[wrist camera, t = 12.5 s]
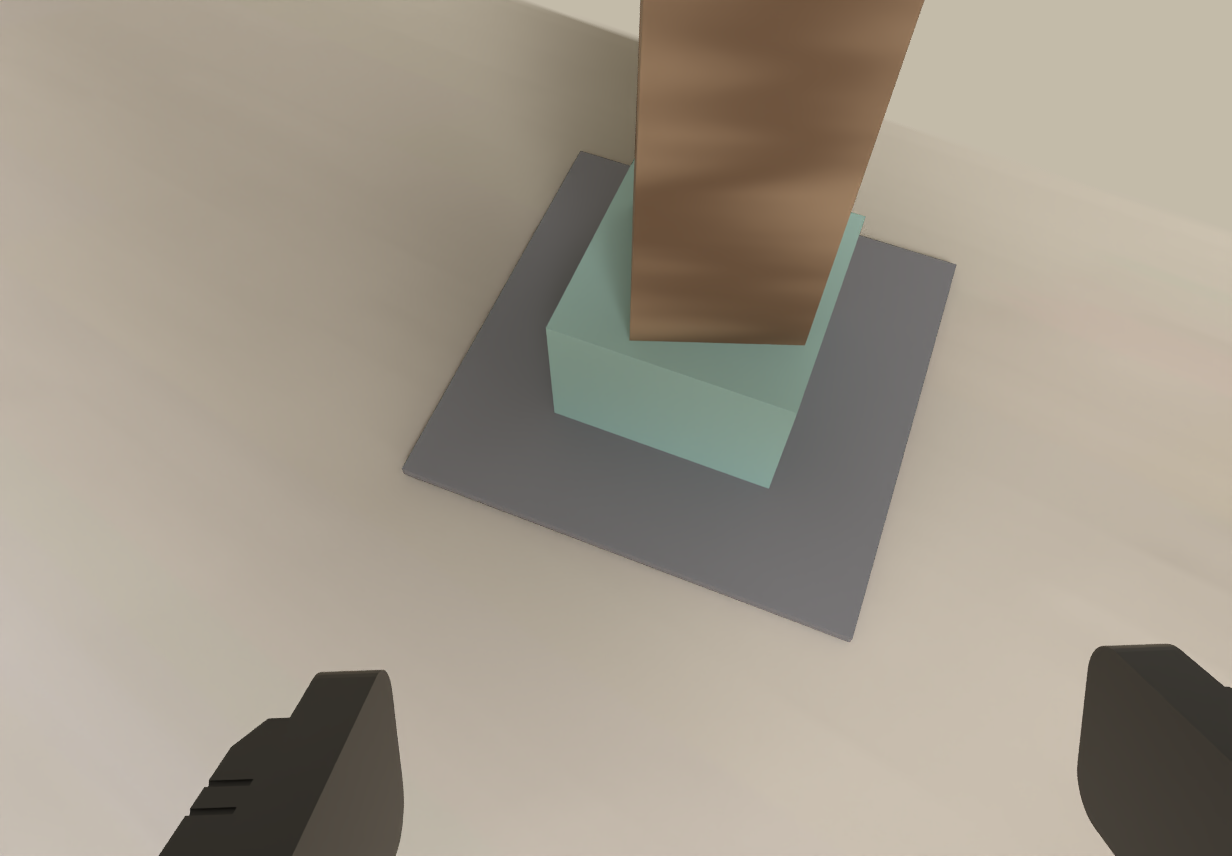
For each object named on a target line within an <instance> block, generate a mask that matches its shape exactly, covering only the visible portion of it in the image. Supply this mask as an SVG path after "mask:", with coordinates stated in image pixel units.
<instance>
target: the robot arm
mask: <svg viewBox="0 0 1232 856" xmlns="http://www.w3.org/2000/svg"><path fill="white" fill-rule="evenodd" d="M1077 777H1078V785H1079V790H1080V795H1081V799H1082V802H1083V805H1084V808H1085V810H1086V813H1087V815H1088V817H1089V819H1090V821H1091V823H1092V824H1093V826H1094V827H1095V829H1096V830H1097V832H1098V833H1099V834H1100V836H1101V837H1102V838H1103V840H1104V841H1105V843H1106V844H1107V845H1108V847H1109V848H1110V849H1111V851H1112V852H1113V853H1114V855H1115V856H1232V688H1230V687H1224V686H1223V685H1222V684H1221V683H1219V682H1218V681H1217V680H1216V679H1215V678H1214V677H1212V676H1211V675H1210V674H1209V673H1208V672H1206V671H1205V670H1204V669H1203V668H1202V667H1200V666H1199V665H1198V664H1197V663H1196V662H1194V661H1193V660H1192V659H1191V658H1190V657H1189V656H1187V655H1186V654H1185V653H1184V652H1183V651H1181V650H1180V649H1179V648H1177V647H1176V646H1174V645H1171V644H1146V645H1118V646H1101V647H1098V648H1097V649H1096V650H1095V651H1094V652H1093V654H1092V656H1091V658H1090V661H1089V666H1088V672H1087V682H1086V691H1085V700H1084V709H1083V718H1082V727H1081V736H1080V745H1079V754H1078V765H1077ZM403 810H404V792H403V781H402V772H401V764H400V755H399V746H398V738H397V729H396V720H395V712H394V703H393V695H392V687H391V682H390V679H389V676H388V674H387V672H386V671H385V670H366V671H338V672H320V673H318V674H316V675H315V677H314V678H313V680H312V681H311V683H310V685H309V687H308V688H307V690H306V692H305V693H304V695H303V697H302V698H301V700H300V702H299V703H298V705H297V707H296V708H295V710H294V712H293V713H292V715H291V717H290V718H271V719H267V720H266V721H265V722H263V723H262V724H261V725H259V726H258V727H257V728H255V729H254V730H253V731H252V732H250V733H249V734H248V735H246V736H245V737H244V738H242V739H241V740H240V741H239V742H237V743H236V744H235V745H233V746H232V747H231V748H230V750H229V751H228V753H227V754H226V756H225V757H224V759H223V760H222V762H221V763H220V765H219V766H218V768H217V769H216V771H215V772H214V774H213V775H212V777H211V778H210V780H209V786H208V787H204V789H203V790H202V792H201V793H200V795H199V796H198V798H197V799H196V801H195V802H194V804H193V805H192V807H191V808H190V815H189V816H185V817H184V819H183V820H182V822H181V823H180V825H179V826H178V828H177V829H176V831H175V832H174V834H173V835H172V837H171V838H170V840H169V841H168V843H167V844H166V846H165V847H164V849H163V850H162V852H161V853H160V855H159V856H396V853H397V850H398V846H399V842H400V837H401V831H402V824H403Z"/></svg>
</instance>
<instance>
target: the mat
mask: <svg viewBox="0 0 1232 856" xmlns="http://www.w3.org/2000/svg"><path fill="white" fill-rule="evenodd" d="M629 168H630V166H629V165H626V164H622V163H619V162H616V161H613V160H609V159H606V158H603V157H599V156H596V155H593V154H589V153H586V152H583V151H580V153H579V155H578V156H577V158H576V160H575V162H574V164H573V165H572V167H571V169H570V171H569V172H568V174H567V176H566V178H565V180H564V181H563V183H562V185H561V187H560V188H559V190H558V192H557V194H556V196H555V197H554V199H553V201H552V203H551V204H550V206H549V208H548V210H547V212H546V213H545V215H544V217H543V219H542V220H541V222H540V224H539V226H538V228H537V229H536V231H535V233H534V235H533V236H532V238H531V240H530V242H529V244H528V245H527V247H526V249H525V251H524V252H523V254H522V256H521V258H520V260H519V261H518V263H517V265H516V267H515V268H514V270H513V272H512V274H511V276H510V277H509V279H508V281H507V283H506V284H505V286H504V288H503V290H502V292H501V293H500V295H499V297H498V299H497V300H496V302H495V304H494V306H493V308H492V309H491V311H490V313H489V315H488V317H487V318H486V320H485V322H484V324H483V325H482V327H481V329H480V331H479V333H478V334H477V336H476V338H475V340H474V341H473V343H472V345H471V347H470V349H469V350H468V352H467V354H466V356H465V357H464V359H463V361H462V363H461V365H460V366H459V368H458V370H457V372H456V373H455V375H454V377H453V379H452V381H451V382H450V384H449V386H448V388H447V389H446V391H445V393H444V395H443V397H442V398H441V400H440V402H439V404H438V405H437V407H436V409H435V411H434V413H433V414H432V416H431V418H430V420H429V421H428V423H427V425H426V427H425V429H424V430H423V432H422V434H421V436H420V437H419V439H418V441H417V443H416V445H415V446H414V448H413V450H412V452H411V453H410V455H409V457H408V459H407V461H406V462H405V464H404V466H403V468H402V470H403V472H404V474H407V475H409V476H412V477H415V478H417V479H420V480H423V481H425V482H428V483H430V484H433V485H436V486H438V487H441V488H444V489H446V490H449V491H452V492H454V493H457V494H459V495H462V496H465V497H467V498H470V499H473V500H475V501H478V502H481V503H483V504H486V505H489V506H491V507H494V508H496V509H499V510H502V511H504V512H507V513H510V514H512V515H515V516H518V517H520V518H523V519H525V520H528V521H531V522H533V523H536V524H539V525H541V526H544V527H547V528H549V529H552V530H555V531H557V532H560V533H562V534H565V535H568V536H570V537H573V538H576V539H578V540H581V541H584V542H586V543H589V544H591V545H594V546H597V547H599V548H602V549H605V550H607V551H610V552H613V553H615V554H618V555H621V556H623V557H626V558H628V559H631V560H634V561H636V562H639V563H642V564H644V565H647V566H650V567H652V568H655V569H657V570H660V571H663V572H665V573H668V574H671V575H673V576H676V577H679V578H681V579H684V580H687V581H689V582H692V583H694V584H697V585H700V586H702V587H705V588H708V589H710V590H713V591H716V592H718V593H721V594H724V595H726V596H729V597H731V598H734V599H737V600H739V601H742V602H745V603H747V604H750V605H753V606H755V607H758V608H760V609H763V610H766V611H768V612H771V613H774V614H776V615H779V616H782V617H784V618H787V619H790V620H792V621H795V622H797V623H800V624H803V625H805V626H808V627H811V628H813V629H816V630H819V631H821V632H824V633H826V634H829V635H832V636H834V637H837V638H840V639H842V640H845V641H848V642H850V641H851V640H852V638H853V635H854V631H855V627H856V624H857V620H858V617H859V613H860V609H861V606H862V602H863V599H864V595H865V591H866V588H867V584H868V581H869V577H870V573H871V570H872V566H873V563H874V559H875V555H876V552H877V548H878V545H879V541H880V537H881V534H882V530H883V527H884V523H885V520H886V516H887V512H888V509H889V505H890V502H891V498H892V494H893V491H894V487H895V484H896V480H897V476H898V473H899V469H900V466H901V462H902V458H903V455H904V451H905V448H906V444H907V440H908V437H909V433H910V430H911V426H912V422H913V419H914V415H915V412H916V408H917V404H918V401H919V397H920V394H921V390H922V386H923V383H924V379H925V376H926V372H927V369H928V365H929V361H930V358H931V354H932V351H933V347H934V343H935V340H936V336H937V333H938V329H939V325H940V322H941V318H942V315H943V311H944V307H945V304H946V300H947V297H948V293H949V289H950V286H951V282H952V279H953V275H954V271H955V268H956V264H953V263H949V262H946V261H943V260H939V259H936V258H933V257H930V256H926V255H923V254H920V253H916V252H913V251H910V250H906V249H903V248H900V247H897V246H893V245H890V244H887V243H883V242H880V241H877V240H873V239H870V238H867V237H863V236H860V235H859V237H858V240H857V243H856V246H855V248H854V251H853V254H852V257H851V260H850V263H849V266H848V269H847V271H846V274H845V277H844V280H843V283H842V286H841V289H840V292H839V294H838V297H837V300H836V303H835V306H834V309H833V312H832V315H831V317H830V320H829V323H828V326H827V329H826V332H825V335H824V338H823V340H822V343H821V346H820V349H819V352H818V355H817V358H816V361H815V364H814V366H813V369H812V372H811V375H810V378H809V381H808V384H807V387H806V389H805V392H804V395H803V398H802V401H801V404H800V407H799V410H798V412H797V415H796V418H795V420H794V423H793V426H792V428H791V431H790V434H789V436H788V439H787V442H786V444H785V447H784V450H783V452H782V455H781V458H780V460H779V463H778V466H777V468H776V471H775V473H774V476H773V479H772V481H771V484H770V487H769V489H768V488H765V487H762V486H760V485H757V484H754V483H751V482H748V481H746V480H743V479H740V478H737V477H734V476H732V475H729V474H726V473H723V472H720V471H717V470H715V469H712V468H709V467H706V466H703V465H701V464H698V463H695V462H692V461H689V460H687V459H684V458H681V457H678V456H675V455H673V454H670V453H667V452H664V451H661V450H658V449H656V448H653V447H650V446H647V445H644V444H642V443H639V442H636V441H633V440H630V439H628V438H625V437H622V436H619V435H616V434H613V433H611V432H608V431H605V430H602V429H599V428H597V427H594V426H591V425H588V424H585V423H583V422H580V421H577V420H574V419H571V418H568V417H566V416H563V415H560V414H557V413H554V403H553V393H552V383H551V374H550V364H549V354H548V344H547V334H546V327H547V325H548V323H549V321H550V319H551V317H552V315H553V313H554V311H555V309H556V308H557V306H558V304H559V302H560V300H561V298H562V296H563V294H564V292H565V290H566V288H567V286H568V285H569V283H570V281H571V279H572V277H573V275H574V273H575V271H576V269H577V267H578V265H579V264H580V262H581V260H582V258H583V256H584V254H585V252H586V250H587V248H588V246H589V244H590V242H591V241H592V239H593V237H594V235H595V233H596V231H597V229H598V227H599V225H600V223H601V221H602V219H603V218H604V216H605V214H606V212H607V210H608V208H609V206H610V204H611V202H612V200H613V198H614V196H615V195H616V193H617V191H618V189H619V187H620V185H621V183H622V181H623V179H624V177H625V175H626V173H627V172H628V170H629Z"/></svg>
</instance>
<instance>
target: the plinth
mask: <svg viewBox="0 0 1232 856" xmlns="http://www.w3.org/2000/svg"><path fill="white" fill-rule="evenodd" d="M634 160H635V158H634ZM634 160H633V162H632V164H631V166H630V168H629V170H628V172H627V173H626V175H625V177H624V179H623V181H622V183H621V185H620V187H619V189H618V191H617V193H616V195H615V196H614V198H613V200H612V202H611V204H610V206H609V208H608V210H607V212H606V214H605V216H604V218H603V219H602V221H601V223H600V225H599V227H598V229H597V231H596V233H595V235H594V237H593V239H592V241H591V242H590V244H589V246H588V248H587V250H586V252H585V254H584V256H583V258H582V260H581V262H580V264H579V265H578V267H577V269H576V271H575V273H574V275H573V277H572V279H571V281H570V283H569V285H568V286H567V288H566V290H565V292H564V294H563V296H562V298H561V300H560V302H559V304H558V306H557V308H556V309H555V311H554V313H553V315H552V317H551V319H550V321H549V323H548V325H547V327H546V334H547V344H548V354H549V364H550V374H551V383H552V393H553V403H554V413H557V414H560V415H563V416H566V417H568V418H571V419H574V420H577V421H580V422H583V423H585V424H588V425H591V426H594V427H597V428H599V429H602V430H605V431H608V432H611V433H613V434H616V435H619V436H622V437H625V438H628V439H630V440H633V441H636V442H639V443H642V444H644V445H647V446H650V447H653V448H656V449H658V450H661V451H664V452H667V453H670V454H673V455H675V456H678V457H681V458H684V459H687V460H689V461H692V462H695V463H698V464H701V465H703V466H706V467H709V468H712V469H715V470H717V471H720V472H723V473H726V474H729V475H732V476H734V477H737V478H740V479H743V480H746V481H748V482H751V483H754V484H757V485H760V486H762V487H765V488H768V489H769V487H770V484H771V481H772V479H773V476H774V473H775V471H776V468H777V466H778V463H779V460H780V458H781V455H782V452H783V450H784V447H785V444H786V442H787V439H788V436H789V434H790V431H791V428H792V426H793V423H794V420H795V418H796V415H797V412H798V410H799V407H800V404H801V401H802V398H803V395H804V392H805V389H806V387H807V384H808V381H809V378H810V375H811V372H812V369H813V366H814V364H815V361H816V358H817V355H818V352H819V349H820V346H821V343H822V340H823V338H824V335H825V332H826V329H827V326H828V323H829V320H830V317H831V315H832V312H833V309H834V306H835V303H836V300H837V297H838V294H839V292H840V289H841V286H842V283H843V280H844V277H845V274H846V271H847V269H848V266H849V263H850V260H851V257H852V254H853V251H854V248H855V246H856V243H857V240H858V237H859V234H860V231H861V228H862V225H863V223H864V220H865V216H862V215H858V214H855V213H852V212H851V214H850V217H849V219H848V222H847V225H846V228H845V231H844V234H843V237H842V240H841V243H840V245H839V248H838V251H837V254H836V257H835V260H834V263H833V266H832V269H831V271H830V274H829V277H828V280H827V283H826V286H825V289H824V292H823V295H822V297H821V300H820V303H819V306H818V309H817V312H816V315H815V318H814V321H813V324H812V326H811V329H810V332H809V335H808V338H807V341H806V344H805V345H771V344H735V343H700V342H664V341H629V340H630V299H631V259H632V218H633V187H634Z"/></svg>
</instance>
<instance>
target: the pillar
mask: <svg viewBox="0 0 1232 856" xmlns="http://www.w3.org/2000/svg"><path fill="white" fill-rule="evenodd" d="M923 3H924V0H641V2H640V27H639V53H638V80H637V107H636V134H635V160H634V187H633V218H632V259H631V299H630V340H629V341H664V342H700V343H735V344H771V345H805V344H806V341H807V338H808V335H809V332H810V329H811V326H812V324H813V321H814V318H815V315H816V312H817V309H818V306H819V303H820V300H821V297H822V295H823V292H824V289H825V286H826V283H827V280H828V277H829V274H830V271H831V269H832V266H833V263H834V260H835V257H836V254H837V251H838V248H839V245H840V243H841V240H842V237H843V234H844V231H845V228H846V225H847V222H848V219H849V217H850V214H851V211H852V208H853V205H854V202H855V199H856V196H857V193H858V191H859V188H860V185H861V182H862V179H863V176H864V173H865V170H866V167H867V165H868V162H869V159H870V156H871V153H872V150H873V147H874V144H875V141H876V139H877V136H878V133H879V130H880V127H881V124H882V121H883V118H884V115H885V113H886V109H887V107H888V104H889V101H890V98H891V95H892V92H893V89H894V87H895V84H896V81H897V78H898V75H899V72H900V69H901V66H902V63H903V60H904V57H905V54H906V52H907V49H908V46H909V43H910V40H911V37H912V34H913V32H914V28H915V26H916V23H917V20H918V17H919V14H920V11H921V8H922V5H923Z"/></svg>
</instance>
